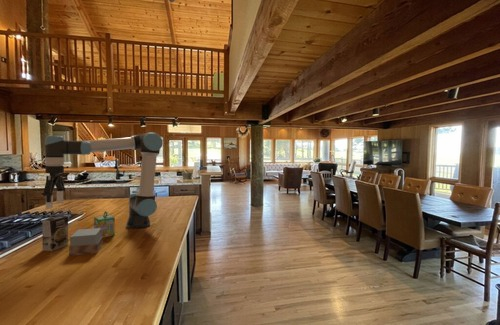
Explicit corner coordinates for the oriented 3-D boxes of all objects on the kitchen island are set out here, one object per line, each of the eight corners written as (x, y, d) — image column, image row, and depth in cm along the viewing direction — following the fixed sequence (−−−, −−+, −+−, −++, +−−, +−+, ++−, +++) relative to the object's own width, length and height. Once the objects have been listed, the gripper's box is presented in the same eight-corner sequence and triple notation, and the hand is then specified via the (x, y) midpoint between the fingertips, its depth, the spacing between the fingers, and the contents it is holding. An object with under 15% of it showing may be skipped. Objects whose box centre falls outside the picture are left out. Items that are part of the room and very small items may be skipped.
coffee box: (52, 251, 122) (51, 220, 121) (41, 250, 123) (41, 219, 122) (68, 245, 131) (68, 216, 130) (59, 243, 132) (59, 215, 131)
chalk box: (93, 235, 146) (93, 211, 145) (110, 232, 153) (110, 209, 152) (97, 239, 140) (97, 214, 139) (115, 235, 146) (115, 212, 146)
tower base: (102, 245, 133) (102, 236, 133) (97, 253, 122) (97, 244, 121) (77, 247, 129) (77, 238, 128) (69, 257, 117) (69, 247, 117)
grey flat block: (101, 236, 132) (101, 227, 131) (95, 244, 121) (95, 234, 121) (78, 238, 128) (77, 229, 128) (70, 246, 118) (70, 236, 117)
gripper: (55, 164, 135) (55, 201, 136) (34, 167, 112) (34, 211, 113) (71, 164, 138) (71, 200, 139) (53, 167, 115) (53, 210, 115)
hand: (54, 205), depth 126 cm, fingers open, 13 cm apart
